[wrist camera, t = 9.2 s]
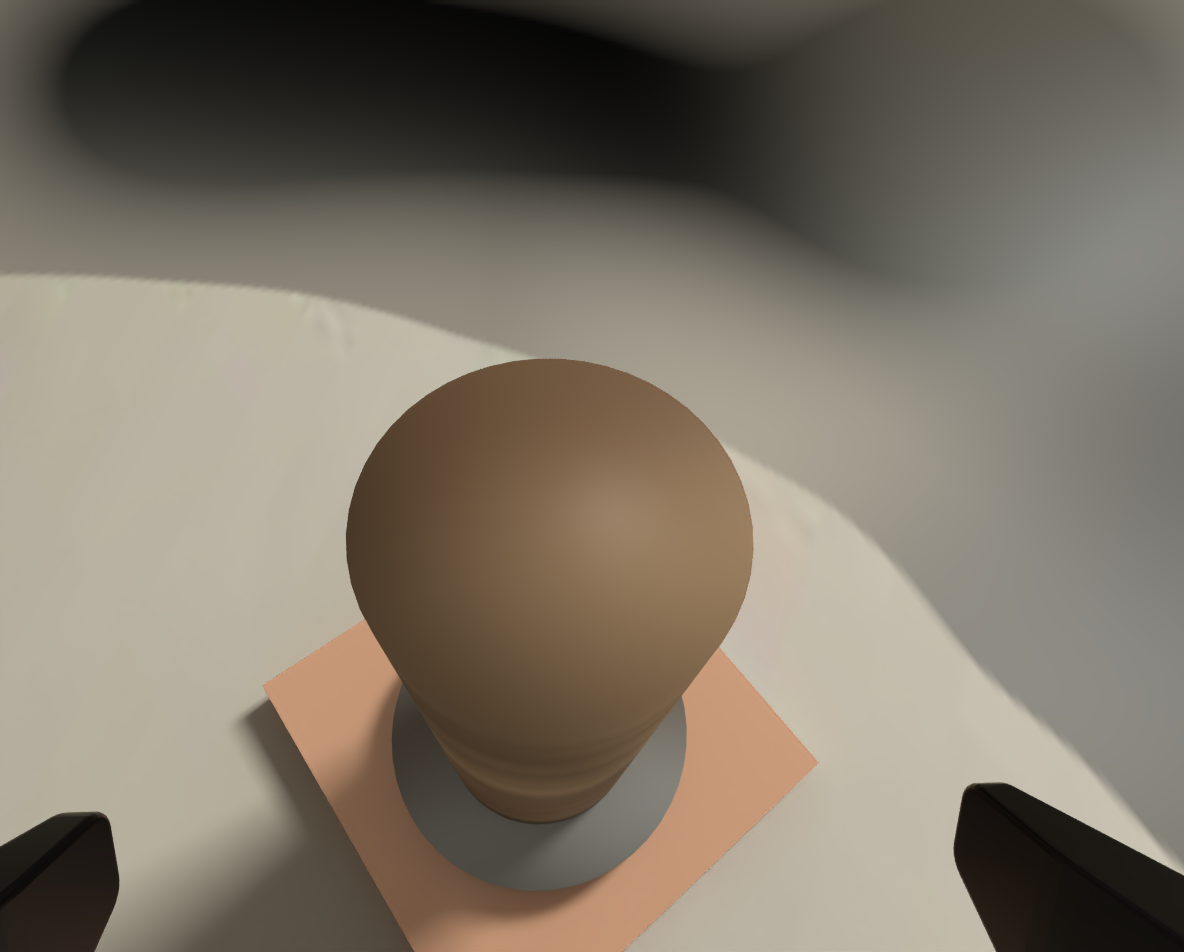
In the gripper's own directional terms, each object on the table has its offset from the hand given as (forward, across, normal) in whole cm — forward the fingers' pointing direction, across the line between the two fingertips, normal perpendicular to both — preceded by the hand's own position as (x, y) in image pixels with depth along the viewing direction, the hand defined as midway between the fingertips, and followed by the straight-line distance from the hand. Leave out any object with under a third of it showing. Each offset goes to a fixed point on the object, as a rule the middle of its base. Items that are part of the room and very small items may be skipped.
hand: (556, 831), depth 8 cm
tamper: (+10, 0, +5) cm, 11 cm away
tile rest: (+10, 0, +6) cm, 12 cm away
